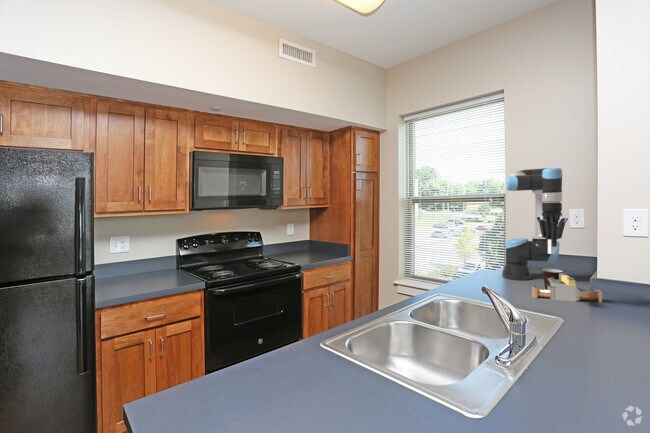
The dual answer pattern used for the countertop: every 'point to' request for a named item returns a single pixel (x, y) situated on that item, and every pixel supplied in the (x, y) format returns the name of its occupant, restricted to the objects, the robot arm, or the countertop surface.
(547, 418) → the countertop surface
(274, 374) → the countertop surface
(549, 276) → the coffee mug
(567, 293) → the valve body
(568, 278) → the lever
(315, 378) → the countertop surface
